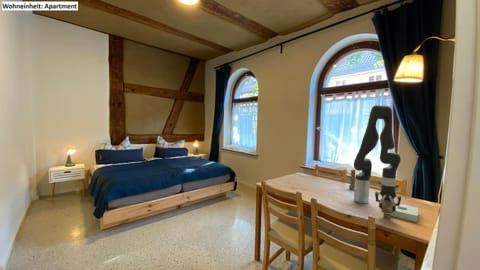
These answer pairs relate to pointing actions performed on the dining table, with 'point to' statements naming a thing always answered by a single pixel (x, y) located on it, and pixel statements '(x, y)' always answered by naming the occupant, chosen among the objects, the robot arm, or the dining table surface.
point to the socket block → (406, 212)
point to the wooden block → (352, 180)
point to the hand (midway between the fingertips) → (387, 209)
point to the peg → (387, 208)
